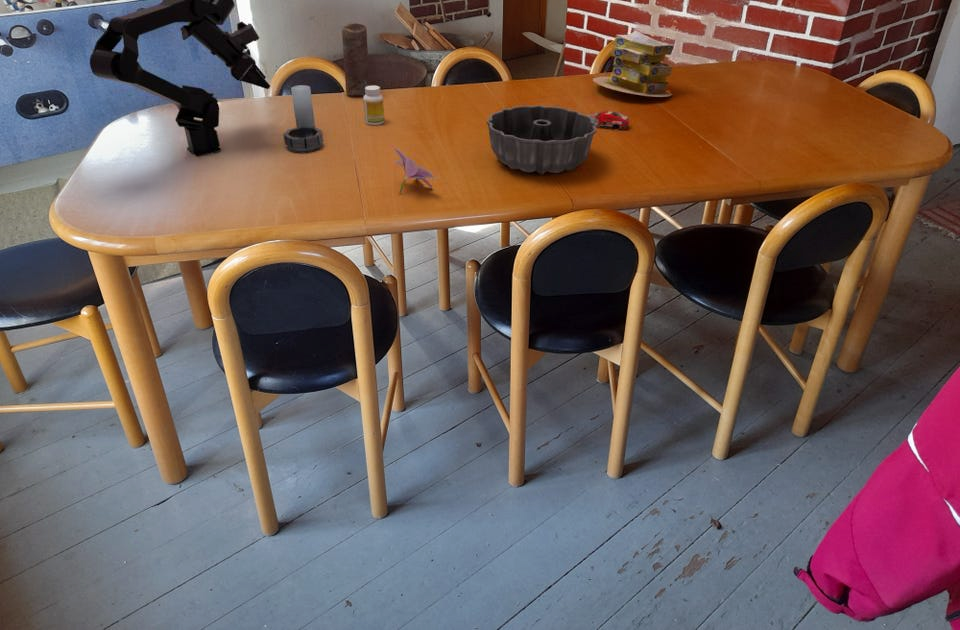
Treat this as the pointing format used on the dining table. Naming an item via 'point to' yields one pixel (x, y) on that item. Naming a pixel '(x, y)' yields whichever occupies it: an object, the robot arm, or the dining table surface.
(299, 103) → the peg
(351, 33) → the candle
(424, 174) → the lily
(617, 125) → the race car
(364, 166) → the dining table surface
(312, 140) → the socket collar
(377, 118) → the supplement bottle
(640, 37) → the stacked boxes on plate
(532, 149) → the bundt pan
